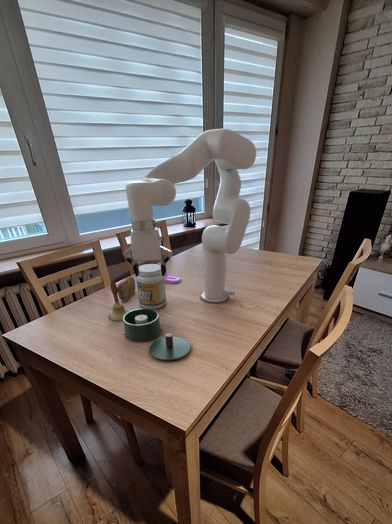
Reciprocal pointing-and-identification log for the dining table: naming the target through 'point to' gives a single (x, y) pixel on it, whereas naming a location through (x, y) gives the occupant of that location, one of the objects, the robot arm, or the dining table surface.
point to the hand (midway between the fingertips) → (150, 275)
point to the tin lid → (169, 348)
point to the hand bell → (117, 304)
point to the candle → (141, 319)
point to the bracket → (171, 278)
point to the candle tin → (142, 325)
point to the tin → (126, 288)
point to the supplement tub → (151, 286)
